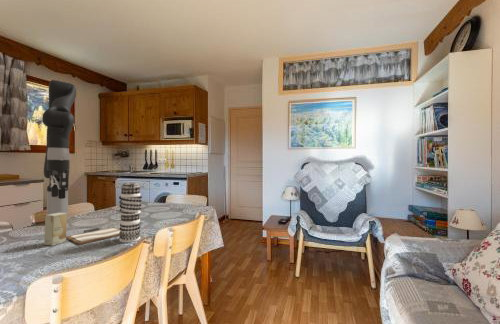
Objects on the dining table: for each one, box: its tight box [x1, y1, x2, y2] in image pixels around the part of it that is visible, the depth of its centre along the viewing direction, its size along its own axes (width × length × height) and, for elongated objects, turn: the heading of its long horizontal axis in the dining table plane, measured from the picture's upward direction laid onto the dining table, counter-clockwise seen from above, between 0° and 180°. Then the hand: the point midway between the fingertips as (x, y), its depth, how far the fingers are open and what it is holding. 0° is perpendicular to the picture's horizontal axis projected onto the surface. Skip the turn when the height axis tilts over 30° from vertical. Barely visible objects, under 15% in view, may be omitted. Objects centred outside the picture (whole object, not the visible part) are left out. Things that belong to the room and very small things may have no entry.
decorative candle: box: [118, 182, 143, 243], centre depth 112 cm, size 9×9×25 cm
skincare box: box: [43, 213, 68, 246], centre depth 105 cm, size 6×4×12 cm
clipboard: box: [66, 226, 121, 246], centre depth 116 cm, size 14×20×2 cm
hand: (58, 197), depth 106 cm, fingers open, 8 cm apart
